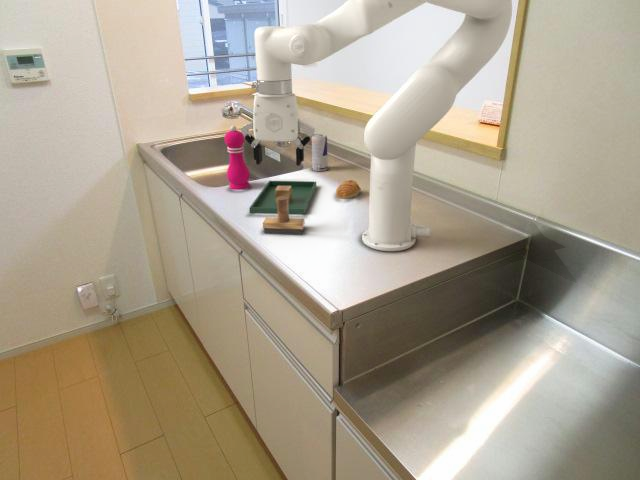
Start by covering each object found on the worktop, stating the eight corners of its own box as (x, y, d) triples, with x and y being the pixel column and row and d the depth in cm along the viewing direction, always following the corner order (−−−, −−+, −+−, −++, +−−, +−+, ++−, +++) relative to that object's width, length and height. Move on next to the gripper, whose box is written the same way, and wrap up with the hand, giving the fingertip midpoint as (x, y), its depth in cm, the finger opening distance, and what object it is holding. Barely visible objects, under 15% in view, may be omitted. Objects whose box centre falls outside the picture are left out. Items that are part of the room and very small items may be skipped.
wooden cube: (292, 198, 132) (291, 185, 130) (289, 203, 129) (288, 190, 127) (278, 198, 133) (277, 185, 131) (275, 203, 129) (274, 190, 127)
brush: (305, 229, 114) (303, 195, 111) (302, 234, 111) (301, 200, 107) (266, 227, 116) (264, 194, 112) (263, 233, 113) (260, 199, 109)
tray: (316, 188, 142) (316, 181, 141) (304, 217, 121) (304, 209, 120) (269, 187, 144) (269, 180, 143) (250, 215, 123) (249, 207, 122)
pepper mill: (253, 185, 147) (247, 122, 138) (248, 192, 140) (241, 127, 132) (231, 184, 148) (224, 123, 139) (225, 192, 141) (217, 128, 132)
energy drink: (330, 168, 161) (329, 134, 156) (322, 172, 157) (321, 138, 152) (317, 166, 164) (316, 133, 159) (309, 170, 160) (308, 136, 155)
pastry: (353, 202, 130) (353, 190, 129) (331, 200, 132) (331, 188, 131) (361, 191, 138) (361, 179, 137) (340, 190, 140) (340, 178, 139)
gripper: (232, 90, 97) (239, 167, 105) (311, 90, 95) (312, 169, 102) (242, 85, 104) (248, 158, 111) (316, 86, 101) (317, 160, 109)
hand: (279, 163), depth 107 cm, fingers open, 9 cm apart
